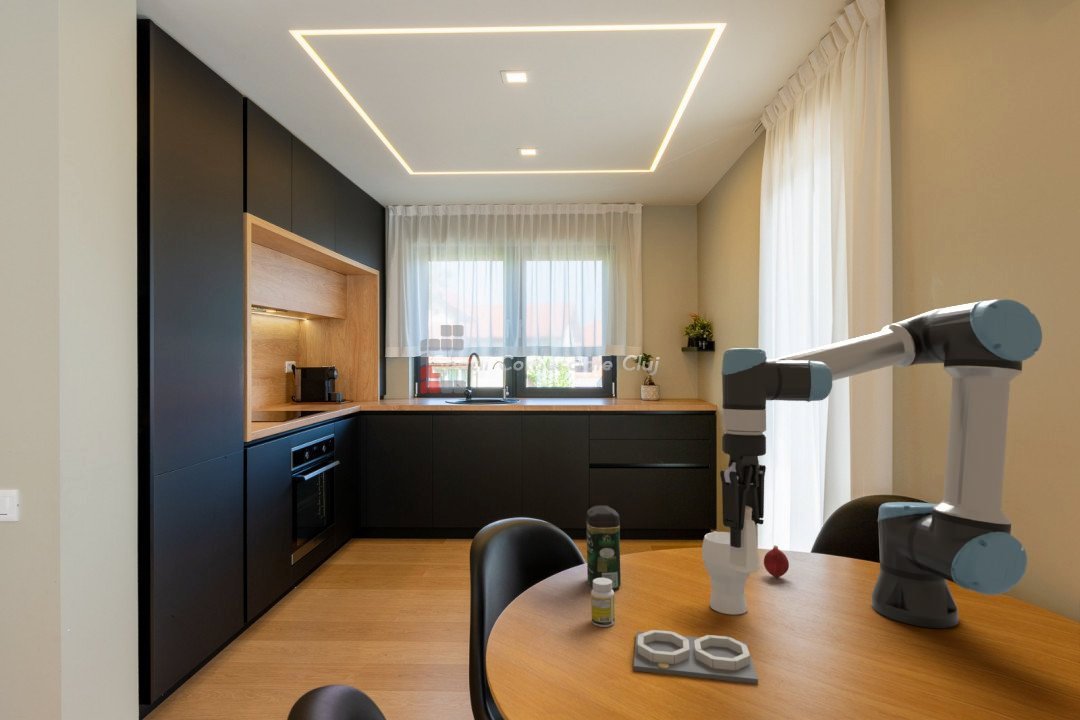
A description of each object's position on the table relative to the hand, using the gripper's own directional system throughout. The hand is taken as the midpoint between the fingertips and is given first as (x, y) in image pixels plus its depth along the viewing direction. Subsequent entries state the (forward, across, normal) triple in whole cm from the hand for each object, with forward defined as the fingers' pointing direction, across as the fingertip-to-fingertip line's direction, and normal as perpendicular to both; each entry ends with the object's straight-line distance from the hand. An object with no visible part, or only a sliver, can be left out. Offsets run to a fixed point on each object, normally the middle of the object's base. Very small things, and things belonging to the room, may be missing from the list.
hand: (743, 561), depth 98 cm
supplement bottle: (+17, +8, -26) cm, 32 cm away
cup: (+17, -17, -12) cm, 27 cm away
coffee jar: (+17, -8, -40) cm, 44 cm away
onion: (+16, -43, -12) cm, 47 cm away
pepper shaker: (+1, 0, 0) cm, 1 cm away
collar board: (+17, +8, -6) cm, 19 cm away
